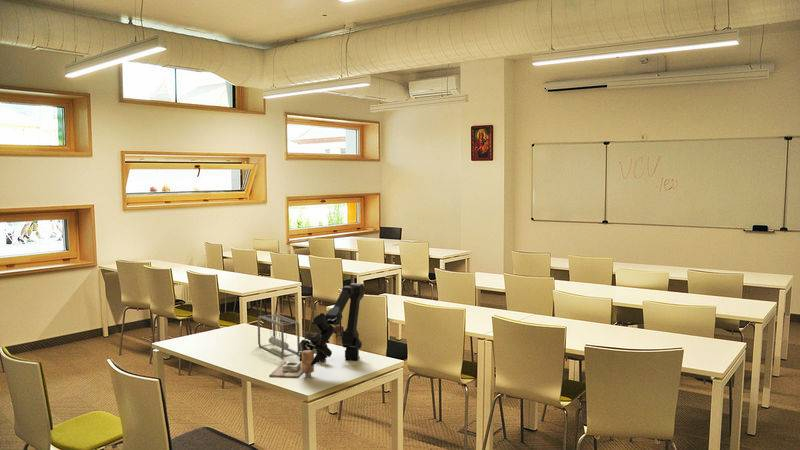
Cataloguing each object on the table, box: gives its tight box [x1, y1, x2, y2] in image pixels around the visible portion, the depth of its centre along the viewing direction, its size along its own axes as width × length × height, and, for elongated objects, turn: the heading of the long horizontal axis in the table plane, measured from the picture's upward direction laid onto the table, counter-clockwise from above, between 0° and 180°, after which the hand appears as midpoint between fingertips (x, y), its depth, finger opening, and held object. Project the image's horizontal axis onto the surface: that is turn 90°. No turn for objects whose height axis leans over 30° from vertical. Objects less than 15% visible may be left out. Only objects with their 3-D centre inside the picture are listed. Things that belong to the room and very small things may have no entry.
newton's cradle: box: [257, 313, 301, 358], centre depth 330 cm, size 30×10×18 cm, turn 38°
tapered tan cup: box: [301, 350, 315, 378], centre depth 285 cm, size 6×6×12 cm
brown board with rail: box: [268, 361, 304, 379], centre depth 295 cm, size 14×22×3 cm, turn 172°
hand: (305, 362), depth 284 cm, fingers open, 9 cm apart
